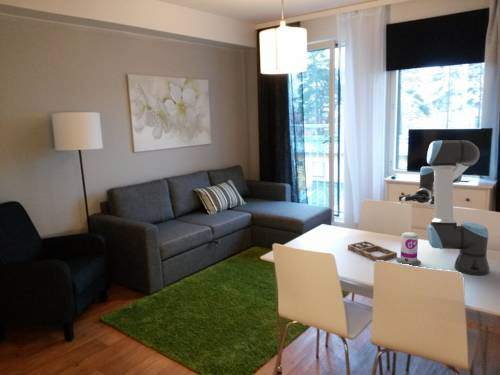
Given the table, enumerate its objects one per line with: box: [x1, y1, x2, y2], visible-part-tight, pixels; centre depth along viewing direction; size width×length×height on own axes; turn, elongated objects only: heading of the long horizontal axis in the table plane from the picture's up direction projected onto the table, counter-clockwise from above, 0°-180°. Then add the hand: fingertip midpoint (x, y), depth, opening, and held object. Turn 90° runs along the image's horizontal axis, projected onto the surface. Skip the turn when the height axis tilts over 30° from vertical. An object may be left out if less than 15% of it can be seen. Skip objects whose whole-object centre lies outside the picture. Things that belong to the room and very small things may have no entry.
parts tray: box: [347, 240, 398, 262], centre depth 223 cm, size 24×14×3 cm, turn 26°
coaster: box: [396, 256, 422, 267], centre depth 208 cm, size 12×12×1 cm
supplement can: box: [399, 231, 419, 263], centre depth 207 cm, size 8×8×15 cm
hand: (415, 202), depth 211 cm, fingers open, 13 cm apart
